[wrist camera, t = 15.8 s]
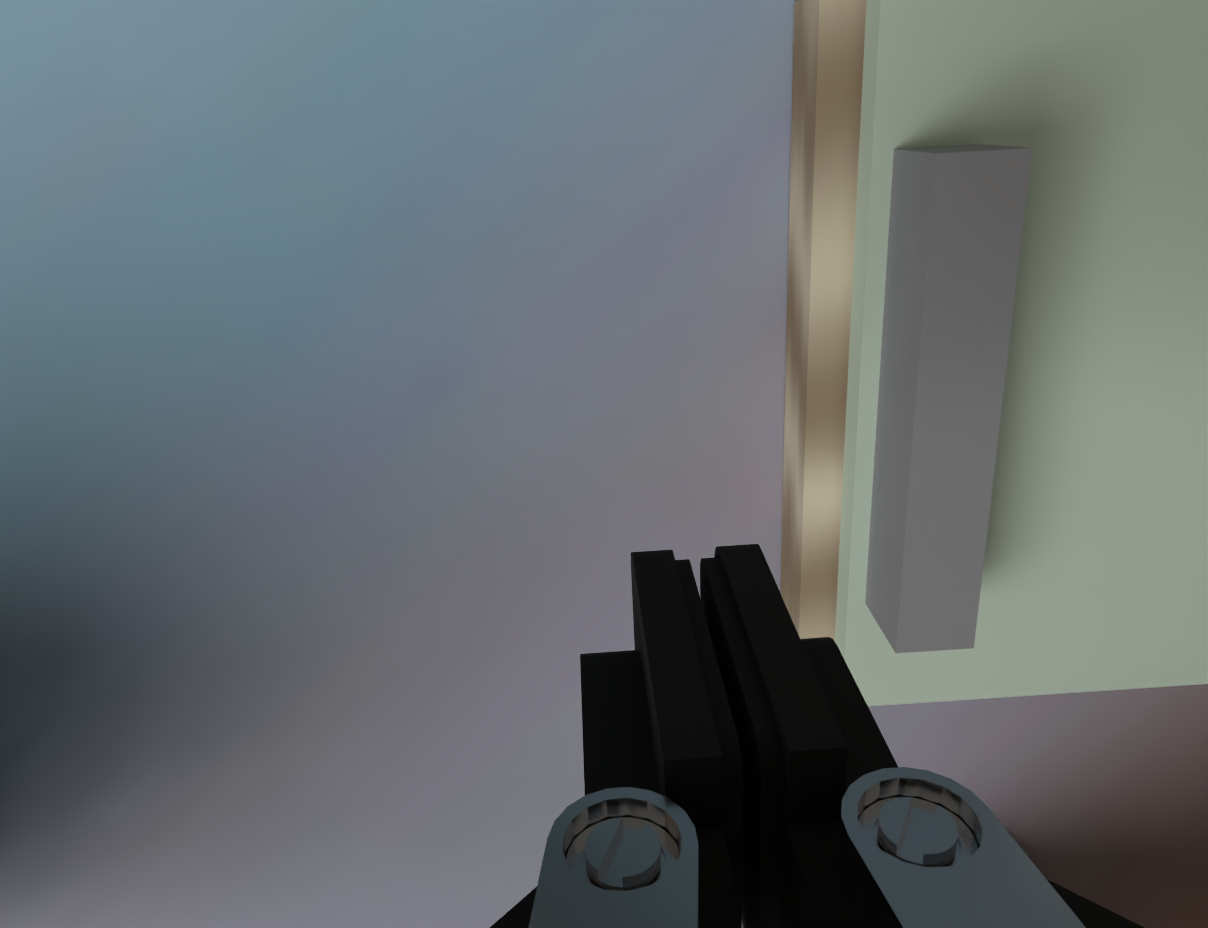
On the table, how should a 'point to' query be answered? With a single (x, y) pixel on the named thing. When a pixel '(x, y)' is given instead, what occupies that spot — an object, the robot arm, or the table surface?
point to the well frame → (819, 301)
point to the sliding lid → (1028, 352)
